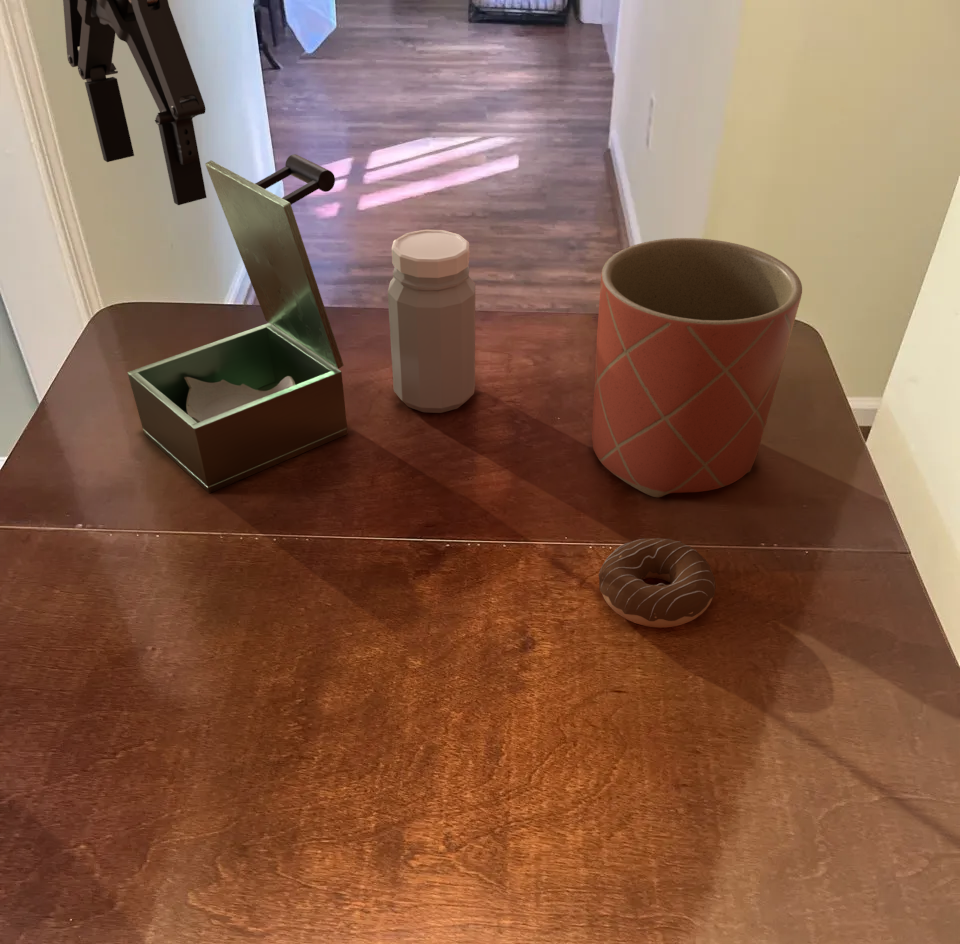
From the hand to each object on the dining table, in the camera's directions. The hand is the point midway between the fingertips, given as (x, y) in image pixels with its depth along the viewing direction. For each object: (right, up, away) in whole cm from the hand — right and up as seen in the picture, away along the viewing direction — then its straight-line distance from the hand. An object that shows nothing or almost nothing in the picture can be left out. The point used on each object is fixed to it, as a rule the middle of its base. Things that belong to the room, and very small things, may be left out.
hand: (153, 178), depth 88 cm
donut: (+46, -38, +3) cm, 59 cm away
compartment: (+3, -18, +22) cm, 29 cm away
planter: (+50, -21, +20) cm, 58 cm away
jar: (+24, -12, +29) cm, 39 cm away
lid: (+8, -3, +13) cm, 16 cm away
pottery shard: (+3, -18, +22) cm, 28 cm away
